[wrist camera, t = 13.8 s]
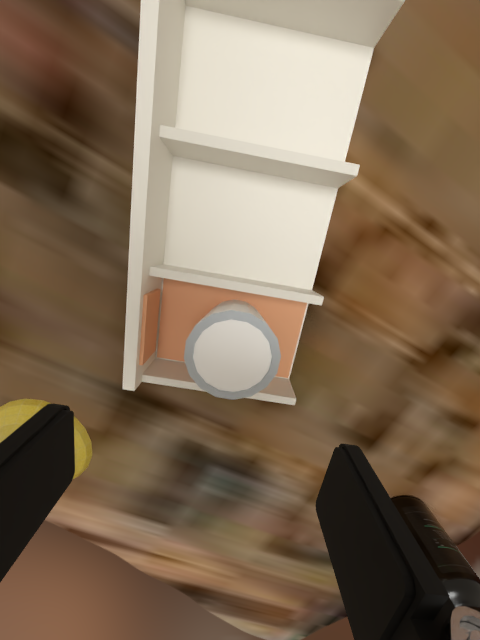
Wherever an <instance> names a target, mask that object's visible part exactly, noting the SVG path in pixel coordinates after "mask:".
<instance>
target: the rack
mask: <svg viewBox="0 0 480 640" xmlns="http://www.w3.org/2000/svg"><path fill="white" fill-rule="evenodd" d="M404 1H405V0H141V11H140V32H139V53H138V74H137V95H136V116H135V137H134V158H133V179H132V199H131V220H130V241H129V262H128V283H127V304H126V325H125V346H124V367H123V388H122V389H125V390H132V391H135V390H136V388H137V387H138V386H139V384H140V383H141V382H147V383H154V384H160V385H167V386H173V387H180V388H186V389H193V390H199V391H204V390H202V389H201V388H200V387H199V386H198V385H197V384H196V383H195V381H194V380H193V379H192V378H191V377H190V375H189V373H188V370H187V367H186V364H185V360H184V353H185V345H186V340H187V338H188V337H189V335H190V333H191V332H192V330H193V328H194V327H195V325H196V324H197V323H198V322H199V321H200V320H201V319H202V318H203V317H205V316H206V315H207V314H208V313H209V312H210V311H211V310H212V309H213V308H214V307H216V306H217V305H219V304H220V303H221V302H224V301H228V300H233V299H235V300H241V301H246V302H247V303H249V304H250V305H252V306H254V307H255V308H256V309H257V311H258V312H259V313H260V315H261V316H262V317H263V319H264V320H265V321H266V323H267V324H268V326H269V327H270V329H271V330H272V331H273V333H274V334H275V336H276V337H277V339H278V343H279V348H280V353H281V359H280V363H279V367H278V371H277V374H276V375H275V377H274V378H273V379H272V381H271V382H270V383H269V385H268V386H267V387H266V388H264V389H263V390H261V391H259V392H258V393H256V394H254V395H253V396H251V397H245V398H251V399H257V400H264V401H270V402H277V403H283V404H290V405H295V402H296V396H295V394H294V391H293V388H292V386H291V383H290V380H289V378H290V374H291V370H292V366H293V362H294V358H295V354H296V350H297V346H298V342H299V339H300V335H301V331H302V327H303V323H304V319H305V315H306V311H307V307H308V303H310V304H316V305H322V303H323V299H324V297H323V296H321V295H319V294H318V293H316V292H314V291H312V288H313V284H314V280H315V276H316V272H317V268H318V264H319V260H320V257H321V253H322V249H323V245H324V241H325V237H326V233H327V229H328V225H329V221H330V218H331V214H332V210H333V206H334V202H335V198H336V194H337V190H338V188H339V187H341V186H342V185H344V184H345V183H347V182H348V181H350V180H352V179H353V178H355V177H356V176H357V174H358V170H359V167H360V165H358V164H353V163H348V162H345V159H346V155H347V151H348V147H349V143H350V139H351V136H352V132H353V128H354V124H355V120H356V116H357V112H358V108H359V104H360V100H361V97H362V93H363V89H364V85H365V81H366V77H367V73H368V69H369V65H370V61H371V57H372V54H373V50H374V47H375V45H376V44H377V42H378V41H379V39H380V38H381V36H382V35H383V33H384V32H385V30H386V29H387V27H388V26H389V24H390V23H391V21H392V20H393V18H394V17H395V15H396V14H397V12H398V11H399V9H400V7H401V6H402V4H403V3H404Z"/></svg>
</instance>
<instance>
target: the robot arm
mask: <svg viewBox="0 0 480 640" xmlns="http://www.w3.org/2000/svg"><path fill="white" fill-rule="evenodd" d="M74 474H75V446H74V413H73V411H70V408H69V407H68V406H65V405H58V404H51V403H50V404H47V405H46V406H44V407H43V408H42V409H41V410H39V411H38V412H37V413H36V414H35V415H33V416H32V417H31V418H30V419H28V420H27V421H26V422H25V423H24V424H22V425H21V426H20V427H19V428H18V429H16V430H15V431H14V432H13V433H12V434H10V435H9V436H8V437H7V438H6V439H4V440H3V441H2V442H1V443H0V582H1V581H2V579H3V578H4V576H5V575H6V573H7V572H8V571H9V569H10V568H11V566H12V565H13V564H14V562H15V561H16V559H17V558H18V557H19V555H20V554H21V552H22V551H23V549H24V548H25V547H26V545H27V544H28V542H29V541H30V539H31V538H32V537H33V535H34V534H35V532H36V531H37V530H38V528H39V527H40V525H41V524H42V522H43V521H44V520H45V518H46V517H47V515H48V514H49V513H50V511H51V510H52V508H53V507H54V506H55V504H56V503H57V501H58V500H59V498H60V497H61V496H62V494H63V493H64V491H65V490H66V489H67V487H68V486H69V484H70V483H71V481H72V479H73V477H74ZM316 511H317V515H318V519H319V522H320V525H321V529H322V532H323V536H324V539H325V542H326V546H327V549H328V552H329V556H330V559H331V563H332V566H333V569H334V573H335V576H336V579H337V583H338V586H339V589H340V593H341V596H342V600H343V603H344V606H345V610H346V613H347V616H348V620H349V623H350V626H351V630H352V633H353V637H354V640H480V612H478V611H476V610H474V609H471V608H469V607H466V606H459V607H455V606H454V604H453V602H452V601H451V599H450V597H449V594H448V593H447V591H446V589H445V588H444V586H443V584H442V583H441V581H440V579H439V578H438V576H437V574H436V573H435V571H434V569H433V568H432V566H431V564H430V563H429V561H428V559H427V558H426V556H425V555H424V553H423V551H422V550H421V548H420V546H419V545H418V543H417V541H416V540H415V538H414V536H413V535H412V533H411V531H410V530H409V528H408V526H407V525H406V523H405V522H404V520H403V518H402V517H401V515H400V513H399V512H398V510H397V508H396V507H395V505H394V503H393V502H392V500H391V498H390V497H389V495H388V493H387V492H386V490H385V488H384V487H383V485H382V484H381V482H380V480H379V479H378V477H377V475H376V474H375V472H374V470H373V469H372V467H371V465H370V464H369V462H368V460H367V459H366V457H365V455H364V454H363V452H362V451H361V449H360V448H359V447H358V446H355V445H348V444H340V445H339V447H336V448H335V449H334V452H333V455H332V457H331V460H330V463H329V466H328V469H327V472H326V474H325V477H324V480H323V483H322V486H321V489H320V491H319V494H318V497H317V500H316Z"/></svg>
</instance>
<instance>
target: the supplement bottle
mask: <svg viewBox="0 0 480 640" xmlns="http://www.w3.org/2000/svg"><path fill="white" fill-rule="evenodd" d="M391 500H392V502H393V503H394V505H395V507H396V508H397V510H398V512H399V513H400V515H401V517H402V518H403V520H404V522H405V523H406V525H407V526H408V528H409V530H410V531H411V533H412V535H413V536H414V538H415V540H416V541H417V543H418V545H419V546H420V548H421V550H422V551H423V553H424V555H425V556H426V558H427V559H428V561H429V563H430V564H431V566H432V568H433V569H434V571H435V573H436V574H437V576H438V578H439V579H440V581H441V583H442V584H443V586H444V588H445V589H446V591H447V593H448V594H449V597H450V599H451V601H452V602H453V604H454V606H455V607H459V606H466V607H469V608H471V609H474V610H476V611H478V612H480V579H479V577H478V576H477V575H476V573H475V572H474V571H473V569H472V568H471V566H470V565H469V563H468V562H467V561H466V559H465V558H464V557H463V555H462V554H461V553H460V551H459V550H458V548H457V547H456V546H455V544H454V543H453V541H452V540H451V539H450V537H449V536H448V535H447V533H446V532H445V530H444V529H443V528H442V526H441V525H440V524H439V522H438V521H437V519H436V518H435V517H434V515H433V514H432V513H431V511H430V510H429V509H428V507H427V506H426V505H425V504H424V503H423V502H421V501H420V500H418V499H416V498H413V497H407V496H401V497H396V498H393V499H391Z"/></svg>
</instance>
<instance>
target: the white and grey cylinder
mask: <svg viewBox="0 0 480 640" xmlns="http://www.w3.org/2000/svg"><path fill="white" fill-rule="evenodd" d="M280 359H281V353H280V348H279V343H278V339H277V337H276V336H275V334H274V333H273V331H272V330H271V329H270V327H269V326H268V324H267V323H266V321H265V320H264V319H263V317H262V316H261V315H260V313H259V312H258V311H257V309H256V308H255V307H254V306H252V305H250V304H249V303H247V302H246V301H241V300H235V299H233V300H228V301H224V302H221V303H220V304H219V305H217V306H216V307H214V308H213V309H212V310H211V311H210V312H209V313H208V314H207V315H206V316H205V317H203V318H202V319H201V320H200V321H199V322H198V323H197V324H196V325H195V327H194V328H193V330H192V332H191V333H190V335H189V337H188V338H187V340H186V345H185V353H184V360H185V364H186V367H187V370H188V373H189V375H190V377H191V378H192V379H193V380H194V381H195V383H196V384H197V385H198V386H199V387H200V388H201V389H202V390H204V391H206V392H208V393H210V394H211V395H213V396H215V397H220V398H226V399H232V400H235V399H240V398H245V397H251V396H253V395H254V394H256V393H258V392H259V391H261V390H263V389H264V388H266V387H267V386H268V385H269V383H270V382H271V381H272V379H273V378H274V377H275V375H276V374H277V371H278V367H279V363H280Z"/></svg>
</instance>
